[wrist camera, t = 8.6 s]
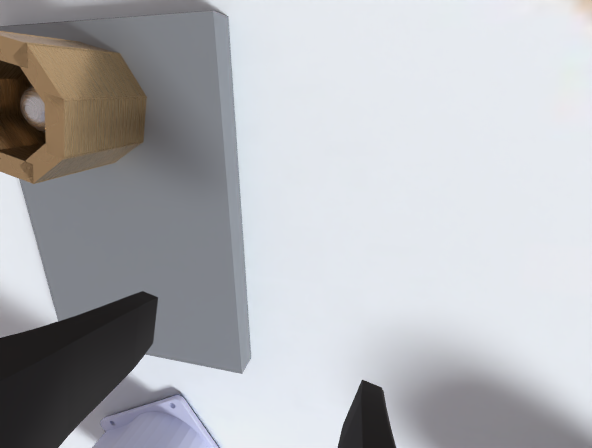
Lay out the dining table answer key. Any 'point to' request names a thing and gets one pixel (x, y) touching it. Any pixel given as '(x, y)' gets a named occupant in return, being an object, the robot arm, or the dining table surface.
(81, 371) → the robot arm
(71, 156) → the bronze ring
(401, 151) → the dining table surface
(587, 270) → the dining table surface
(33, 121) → the steel pin
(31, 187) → the slate block
